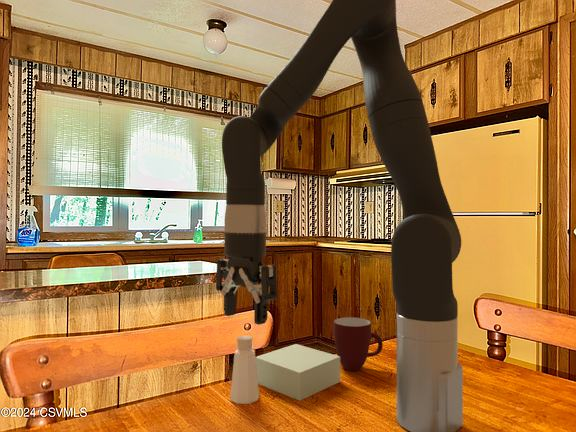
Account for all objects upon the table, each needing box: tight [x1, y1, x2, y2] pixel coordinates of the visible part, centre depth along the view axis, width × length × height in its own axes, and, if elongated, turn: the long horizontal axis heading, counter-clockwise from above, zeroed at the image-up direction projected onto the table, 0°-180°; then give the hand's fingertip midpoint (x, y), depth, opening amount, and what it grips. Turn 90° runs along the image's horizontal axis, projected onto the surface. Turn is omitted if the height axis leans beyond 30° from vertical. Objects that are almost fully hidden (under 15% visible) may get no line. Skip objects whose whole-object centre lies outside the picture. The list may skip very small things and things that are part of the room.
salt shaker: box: [229, 335, 260, 405], centre depth 77 cm, size 5×5×11 cm
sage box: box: [255, 343, 341, 402], centre depth 84 cm, size 12×12×5 cm
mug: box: [333, 316, 384, 372], centre depth 92 cm, size 10×8×10 cm
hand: (244, 319), depth 77 cm, fingers open, 8 cm apart
